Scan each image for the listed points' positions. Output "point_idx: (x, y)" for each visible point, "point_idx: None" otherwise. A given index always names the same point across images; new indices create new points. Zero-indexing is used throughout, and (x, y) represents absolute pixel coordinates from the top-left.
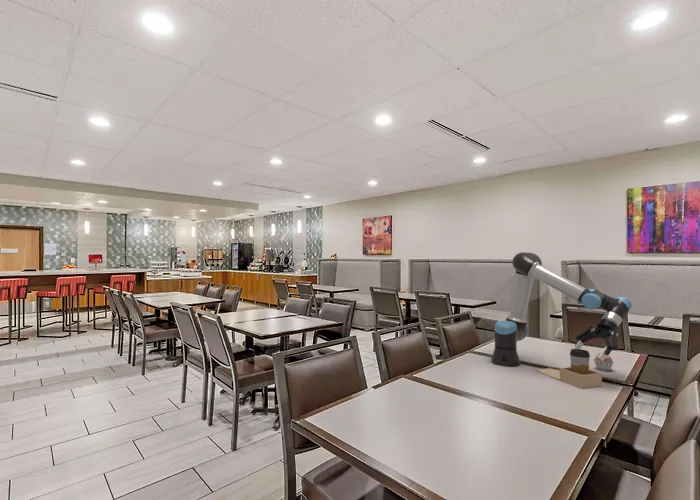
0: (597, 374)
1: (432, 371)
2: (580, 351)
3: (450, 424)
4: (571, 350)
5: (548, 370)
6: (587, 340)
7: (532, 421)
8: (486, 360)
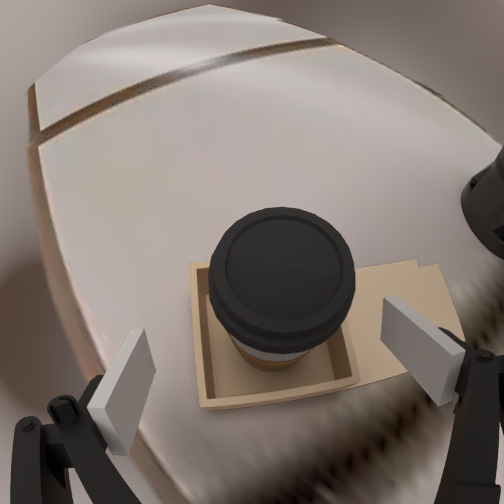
0: (196, 372)
1: (369, 64)
2: (280, 270)
3: (150, 43)
4: (307, 213)
5: (435, 308)
6: (451, 446)
7: (105, 92)
8: None
